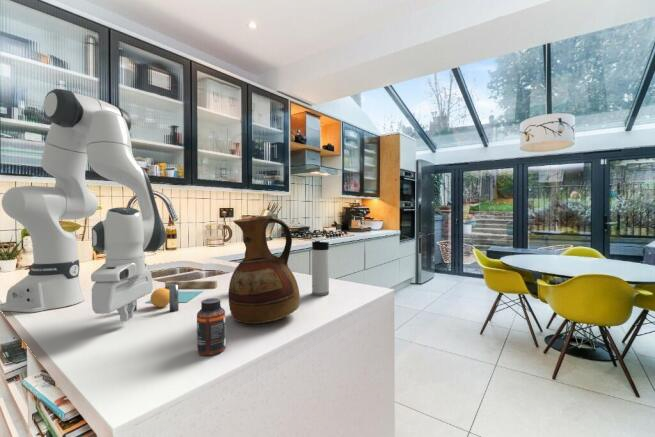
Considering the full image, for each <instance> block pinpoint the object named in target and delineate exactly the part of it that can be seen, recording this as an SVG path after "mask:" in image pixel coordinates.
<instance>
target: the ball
mask: <svg viewBox="0 0 655 437" xmlns="http://www.w3.org/2000/svg"><path fill="white" fill-rule="evenodd" d="M150 300H151V303H150V304H152V305H153V306H154V307H156V308H164V307H166V306H167V305H170V303H169V302H170V300H169V289H168V288H165V287H160V288H157V289H155V290H154V291H153V292H151V295H150Z"/></svg>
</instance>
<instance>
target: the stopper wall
mask: <svg viewBox="0 0 655 437" xmlns="http://www.w3.org/2000/svg"><path fill="white" fill-rule="evenodd" d="M171 284H178V289H217V288H218V280H167V281H165V282H164V288H165V289H169V285H171Z"/></svg>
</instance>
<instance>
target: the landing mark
mask: <svg viewBox="0 0 655 437" xmlns="http://www.w3.org/2000/svg"><path fill="white" fill-rule="evenodd" d="M202 293H203V291H201V290H200V291H198V290H195V291H193V290H192V291H185V290H183V291H179V290H178V303H179V304H182V303H183V304H187V303H189V302H190V301H192V300H193V299H195V298H196V297H198V296H199V295H200V294H202ZM194 297H195V298H194ZM144 303H145V304H152V303H151V299H149V300H146V301H145V302H144ZM169 304H170V302H169Z"/></svg>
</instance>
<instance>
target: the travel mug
mask: <svg viewBox="0 0 655 437" xmlns="http://www.w3.org/2000/svg"><path fill="white" fill-rule="evenodd" d="M329 246H330V244H329V242H328V241H320V240H314V241H311V294H312V295H313V296H317V297H325V296H327V295H329V294H330V249H329Z"/></svg>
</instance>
